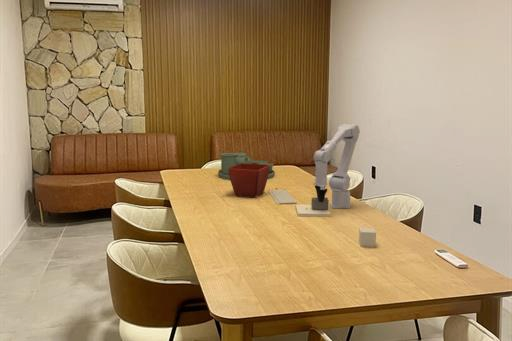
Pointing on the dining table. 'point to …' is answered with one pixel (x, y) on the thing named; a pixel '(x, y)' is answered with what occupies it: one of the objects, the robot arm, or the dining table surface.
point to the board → (311, 211)
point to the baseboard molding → (282, 197)
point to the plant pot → (249, 179)
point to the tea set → (237, 158)
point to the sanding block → (319, 203)
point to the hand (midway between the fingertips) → (320, 200)
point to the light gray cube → (367, 237)
